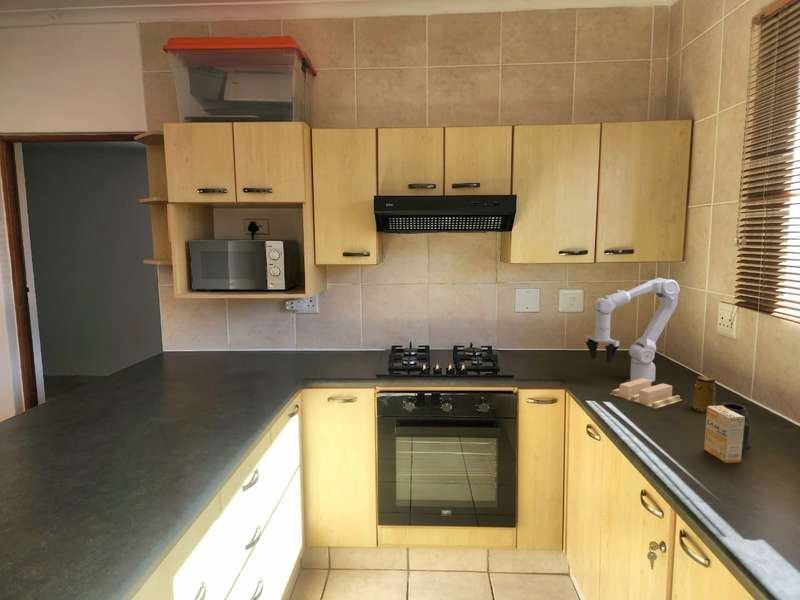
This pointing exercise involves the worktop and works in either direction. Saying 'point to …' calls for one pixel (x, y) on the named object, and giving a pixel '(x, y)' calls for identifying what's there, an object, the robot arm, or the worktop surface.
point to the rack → (654, 404)
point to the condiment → (704, 393)
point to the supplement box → (724, 433)
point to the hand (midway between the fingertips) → (601, 360)
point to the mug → (743, 412)
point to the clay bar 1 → (633, 387)
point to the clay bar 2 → (655, 393)
